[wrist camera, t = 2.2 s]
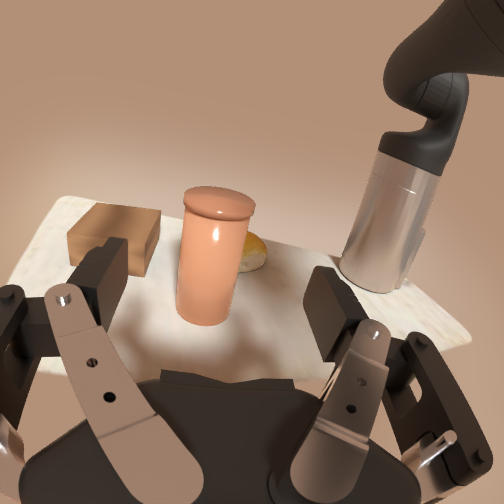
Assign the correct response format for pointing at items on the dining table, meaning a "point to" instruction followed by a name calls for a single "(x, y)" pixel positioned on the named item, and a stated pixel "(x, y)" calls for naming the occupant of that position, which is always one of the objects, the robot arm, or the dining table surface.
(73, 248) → the plinth
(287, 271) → the dining table surface
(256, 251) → the bread roll
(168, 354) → the dining table surface
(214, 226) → the jar
